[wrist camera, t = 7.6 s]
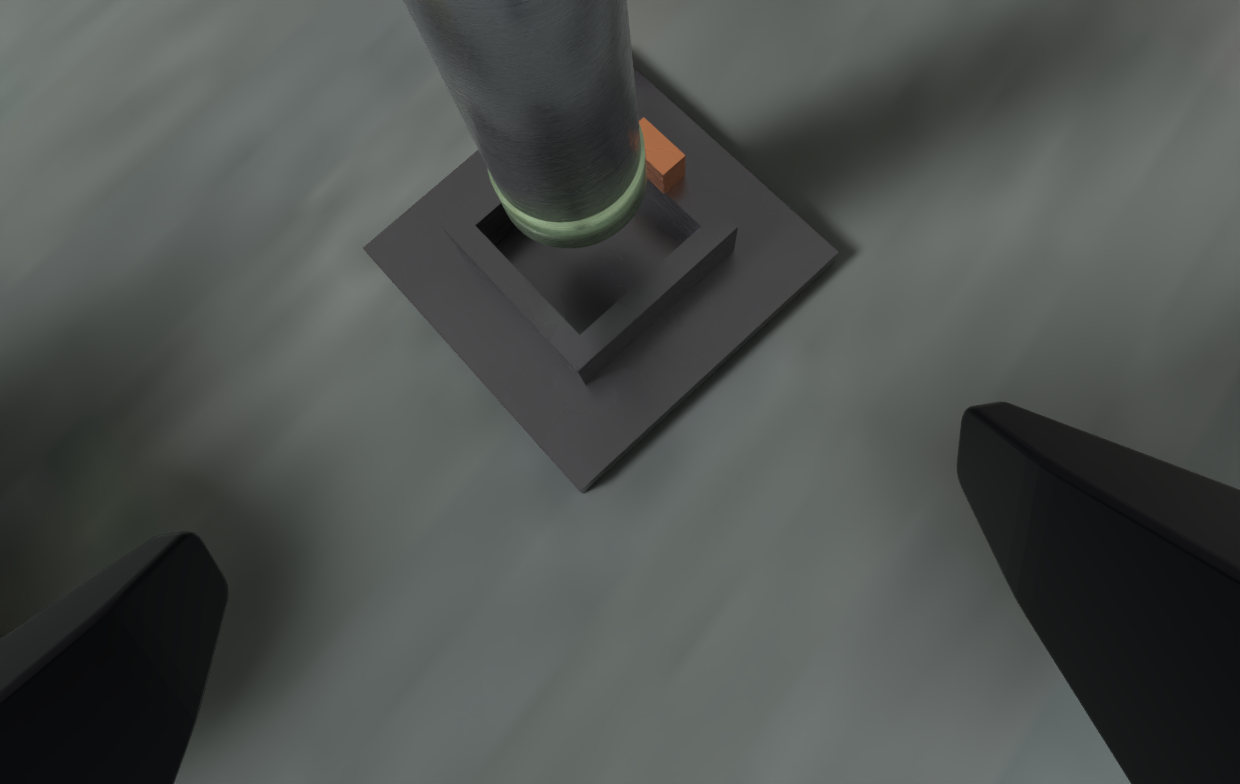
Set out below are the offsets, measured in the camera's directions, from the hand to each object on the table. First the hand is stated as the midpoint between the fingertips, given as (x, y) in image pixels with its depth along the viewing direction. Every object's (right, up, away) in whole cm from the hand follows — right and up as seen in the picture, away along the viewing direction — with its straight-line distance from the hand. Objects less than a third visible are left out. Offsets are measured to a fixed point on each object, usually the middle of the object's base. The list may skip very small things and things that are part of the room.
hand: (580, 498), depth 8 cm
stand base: (0, +5, +13) cm, 15 cm away
